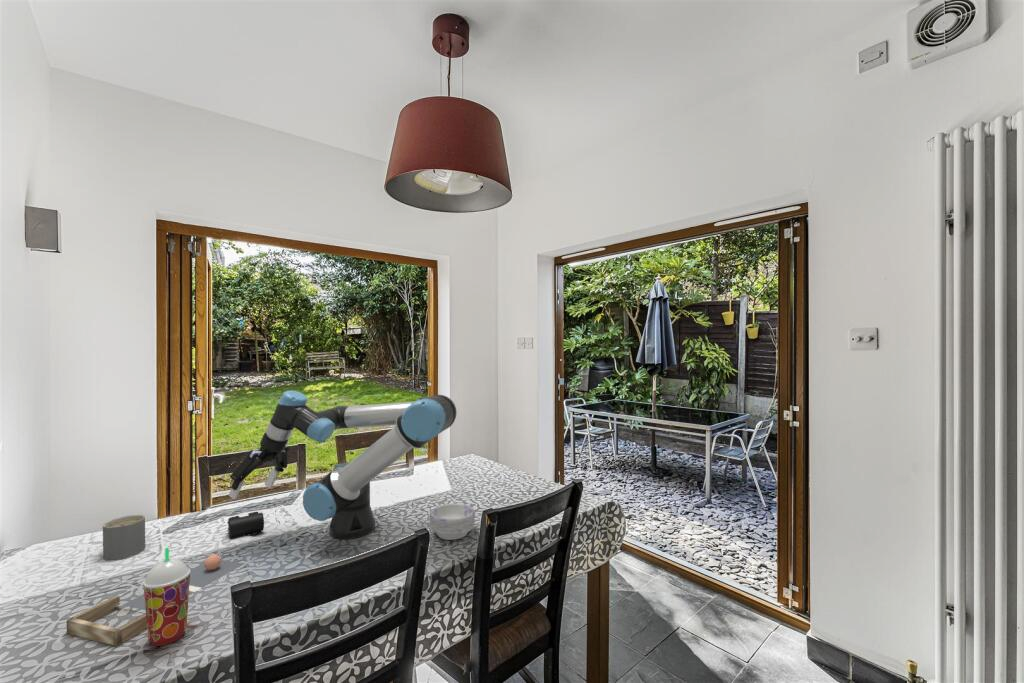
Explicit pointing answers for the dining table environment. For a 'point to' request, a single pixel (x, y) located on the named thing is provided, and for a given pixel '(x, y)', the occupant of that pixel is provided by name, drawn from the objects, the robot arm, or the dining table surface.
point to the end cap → (245, 525)
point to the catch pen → (101, 633)
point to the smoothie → (166, 600)
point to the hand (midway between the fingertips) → (250, 491)
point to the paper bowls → (452, 520)
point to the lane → (195, 580)
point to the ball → (212, 562)
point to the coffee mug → (123, 537)
